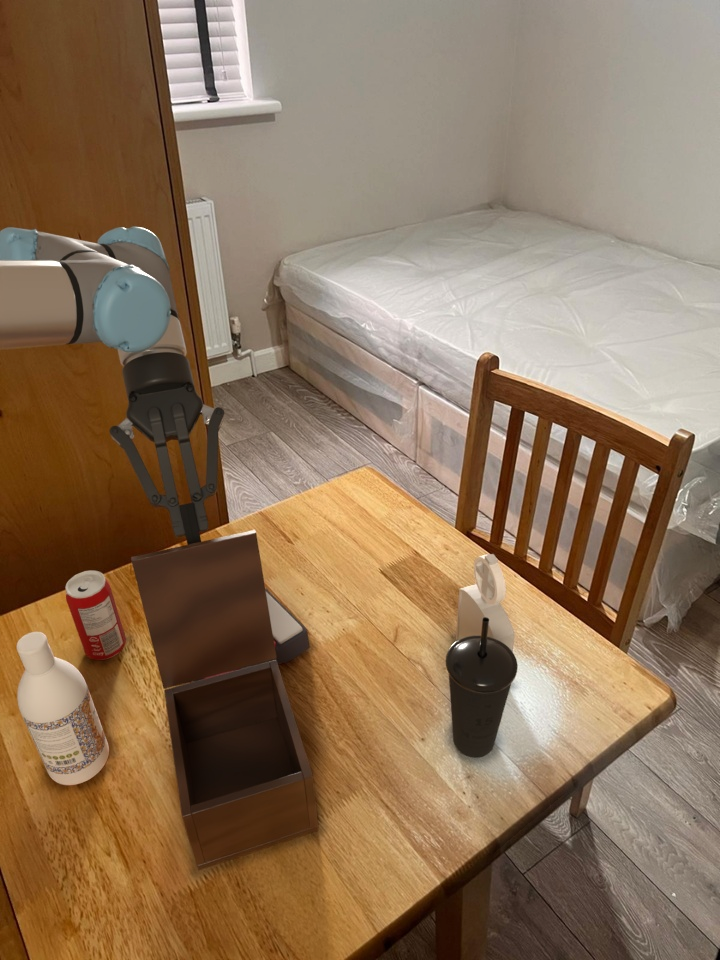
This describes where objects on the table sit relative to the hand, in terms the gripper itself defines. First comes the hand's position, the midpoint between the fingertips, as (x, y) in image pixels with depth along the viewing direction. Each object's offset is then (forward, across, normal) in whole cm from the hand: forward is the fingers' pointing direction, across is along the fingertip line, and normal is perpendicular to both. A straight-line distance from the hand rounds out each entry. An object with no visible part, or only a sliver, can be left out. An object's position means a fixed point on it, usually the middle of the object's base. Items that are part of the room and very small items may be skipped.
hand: (198, 562), depth 80 cm
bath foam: (+18, -18, +13) cm, 29 cm away
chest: (+25, 0, +6) cm, 26 cm away
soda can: (+6, -14, +25) cm, 30 cm away
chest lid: (+6, 0, -1) cm, 6 cm away
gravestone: (+20, +33, +11) cm, 40 cm away
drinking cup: (+28, +27, +4) cm, 39 cm away
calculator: (+11, +3, +20) cm, 23 cm away
